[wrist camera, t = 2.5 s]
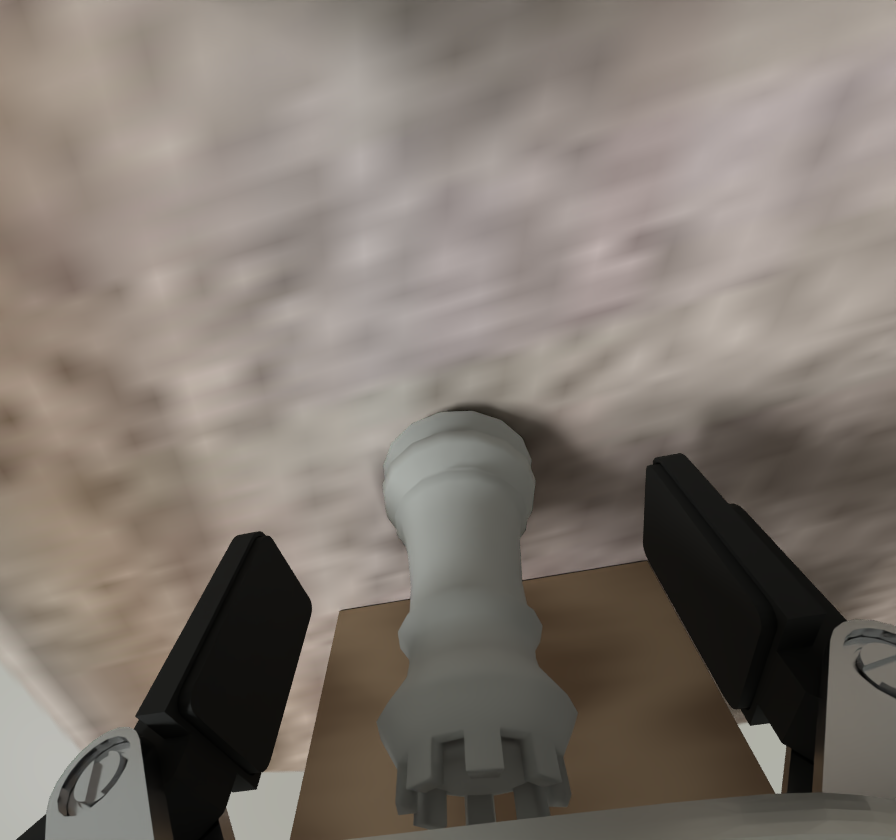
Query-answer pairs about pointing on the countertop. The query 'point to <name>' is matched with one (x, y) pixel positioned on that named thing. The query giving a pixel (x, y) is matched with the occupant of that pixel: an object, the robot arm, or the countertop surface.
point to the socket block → (577, 673)
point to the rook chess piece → (469, 629)
